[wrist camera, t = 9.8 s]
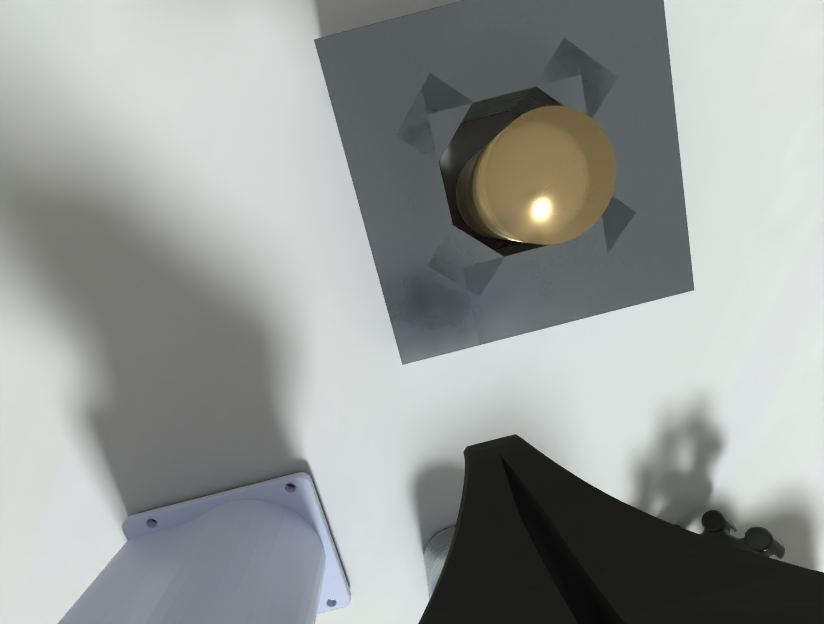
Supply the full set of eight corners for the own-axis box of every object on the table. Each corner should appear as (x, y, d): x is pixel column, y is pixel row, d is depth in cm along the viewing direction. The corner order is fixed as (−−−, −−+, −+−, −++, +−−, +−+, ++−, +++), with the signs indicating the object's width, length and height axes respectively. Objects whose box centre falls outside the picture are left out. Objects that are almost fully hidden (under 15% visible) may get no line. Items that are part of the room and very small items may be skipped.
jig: (401, 343, 19) (402, 364, 17) (327, 71, 17) (314, 39, 14) (648, 280, 19) (694, 290, 16) (611, -3, 17) (658, -52, 14)
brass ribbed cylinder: (466, 248, 19) (499, 258, 13) (447, 157, 18) (473, 124, 12) (551, 226, 19) (624, 227, 13) (536, 135, 18) (607, 90, 12)
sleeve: (451, 592, 23) (466, 672, 19) (410, 553, 22) (417, 629, 18) (504, 555, 22) (530, 628, 18) (463, 513, 21) (482, 582, 17)
